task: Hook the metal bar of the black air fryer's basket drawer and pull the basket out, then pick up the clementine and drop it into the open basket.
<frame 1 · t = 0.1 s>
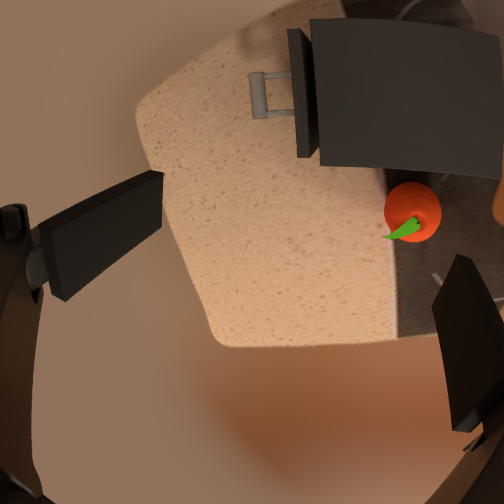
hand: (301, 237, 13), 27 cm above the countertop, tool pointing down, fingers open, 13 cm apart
air fryer: (400, 96, 31), on the countertop
basket: (356, 92, 28), point 5 cm above the countertop, slide at 1.0 cm
clementine: (405, 204, 37), on the countertop
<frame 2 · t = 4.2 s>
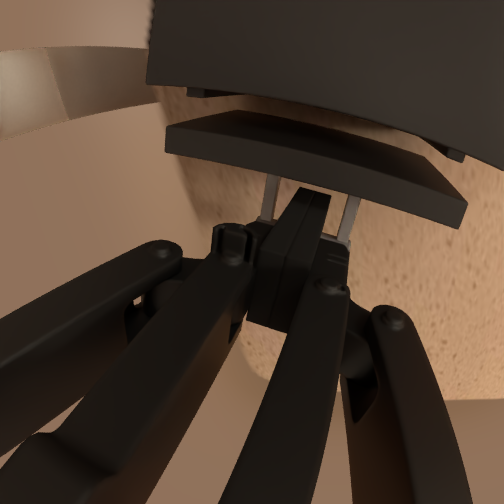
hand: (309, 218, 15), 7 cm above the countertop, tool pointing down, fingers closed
basket: (343, 50, 13), point 5 cm above the countertop, slide at 1.8 cm, touching gripper
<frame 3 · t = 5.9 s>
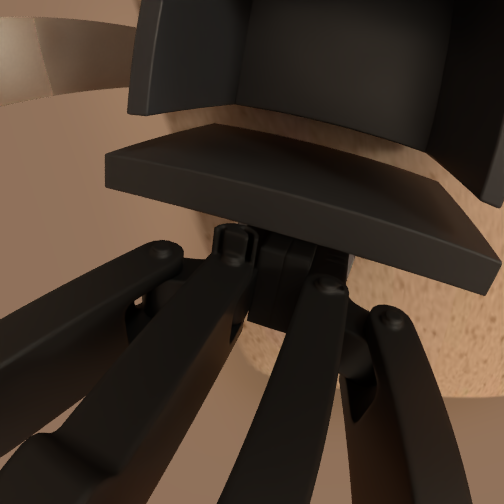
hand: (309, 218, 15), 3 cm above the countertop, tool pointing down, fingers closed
basket: (340, 48, 10), point 5 cm above the countertop, slide at 8.5 cm, touching gripper
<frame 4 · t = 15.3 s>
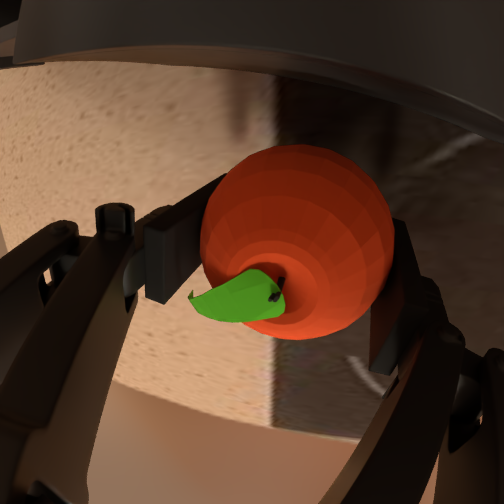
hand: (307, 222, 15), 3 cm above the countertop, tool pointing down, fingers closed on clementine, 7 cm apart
clementine: (301, 212, 15), point 3 cm above the countertop, touching gripper
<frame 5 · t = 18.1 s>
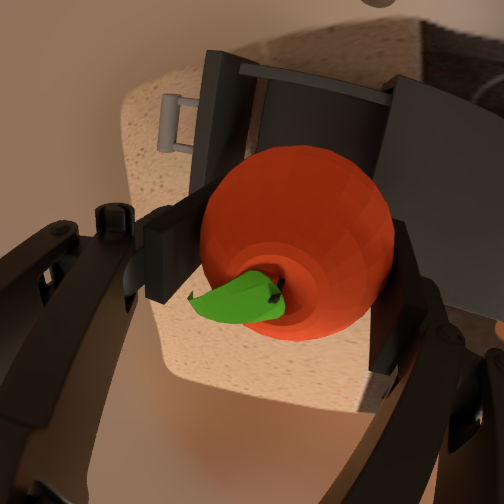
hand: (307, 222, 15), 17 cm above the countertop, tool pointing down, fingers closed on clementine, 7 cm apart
air fryer: (451, 183, 26), on the countertop
basket: (286, 142, 24), point 5 cm above the countertop, slide at 11.1 cm
clementine: (301, 213, 15), point 16 cm above the countertop, touching gripper
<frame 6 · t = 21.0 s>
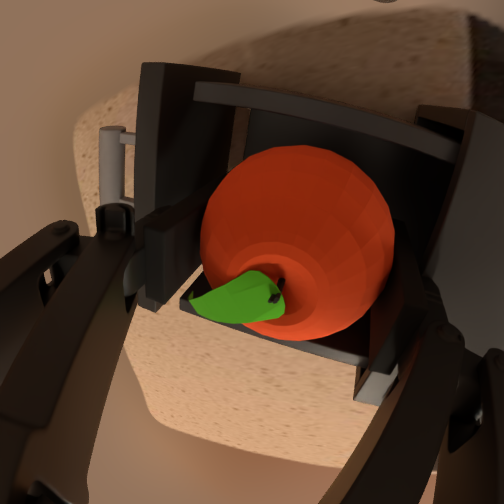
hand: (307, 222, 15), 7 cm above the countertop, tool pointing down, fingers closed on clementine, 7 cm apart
air fryer: (497, 241, 18), on the countertop
basket: (278, 199, 17), point 5 cm above the countertop, slide at 11.1 cm
clementine: (302, 213, 15), point 7 cm above the countertop, touching gripper
when the fingers open (7 cm above the countertop, at t = 21.2 s): clementine drops 5 cm, resting on basket.
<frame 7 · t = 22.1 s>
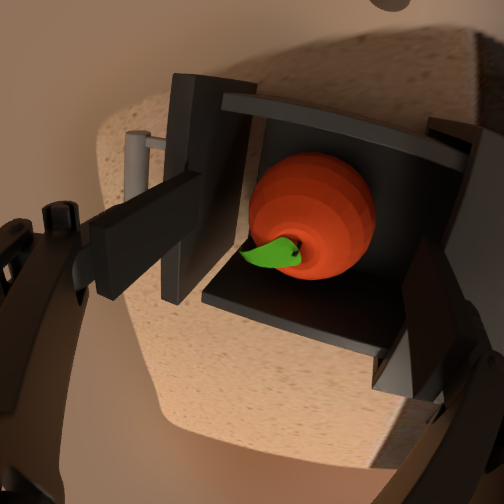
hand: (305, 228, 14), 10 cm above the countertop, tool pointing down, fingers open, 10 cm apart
air fryer: (501, 243, 19), on the countertop
basket: (294, 201, 18), point 5 cm above the countertop, slide at 11.6 cm, touching clementine
clementine: (318, 190, 20), point 2 cm above the countertop, touching basket
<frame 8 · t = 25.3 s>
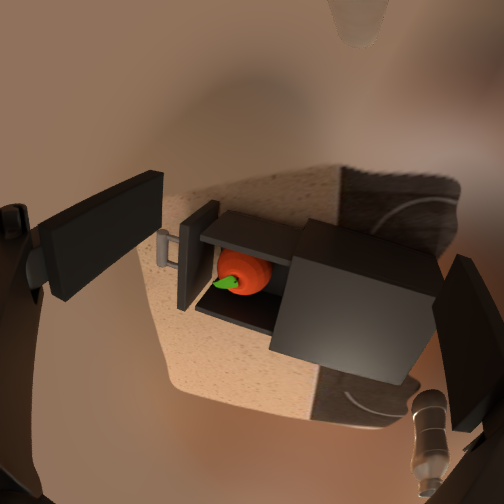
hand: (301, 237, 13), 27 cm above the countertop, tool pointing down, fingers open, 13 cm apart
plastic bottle: (428, 395, 48), on the countertop
air fryer: (358, 280, 43), on the countertop
basket: (234, 266, 41), point 5 cm above the countertop, slide at 11.8 cm, touching clementine
clementine: (250, 255, 44), point 2 cm above the countertop, touching basket
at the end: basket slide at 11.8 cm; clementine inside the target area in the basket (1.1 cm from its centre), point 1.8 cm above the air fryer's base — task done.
